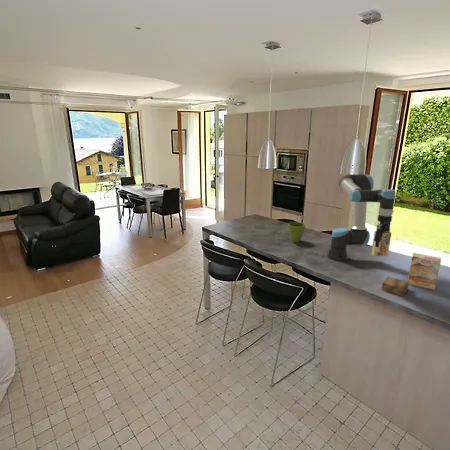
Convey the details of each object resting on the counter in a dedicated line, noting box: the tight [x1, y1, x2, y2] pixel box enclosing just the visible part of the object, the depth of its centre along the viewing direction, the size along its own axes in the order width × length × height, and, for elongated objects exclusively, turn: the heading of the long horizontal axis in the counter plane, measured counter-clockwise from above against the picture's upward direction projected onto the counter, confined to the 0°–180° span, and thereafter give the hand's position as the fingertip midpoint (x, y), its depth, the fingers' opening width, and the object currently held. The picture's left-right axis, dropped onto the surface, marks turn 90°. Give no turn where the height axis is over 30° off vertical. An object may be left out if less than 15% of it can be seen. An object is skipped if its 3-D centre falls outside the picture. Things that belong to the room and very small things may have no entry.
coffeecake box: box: [407, 252, 442, 291], centre depth 192 cm, size 15×7×20 cm, turn 56°
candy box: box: [371, 230, 392, 257], centre depth 189 cm, size 9×4×15 cm, turn 92°
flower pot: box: [287, 221, 306, 243], centre depth 273 cm, size 15×15×16 cm
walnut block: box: [381, 276, 410, 297], centre depth 188 cm, size 12×12×5 cm
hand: (380, 249), depth 190 cm, fingers closed on candy box, 9 cm apart
